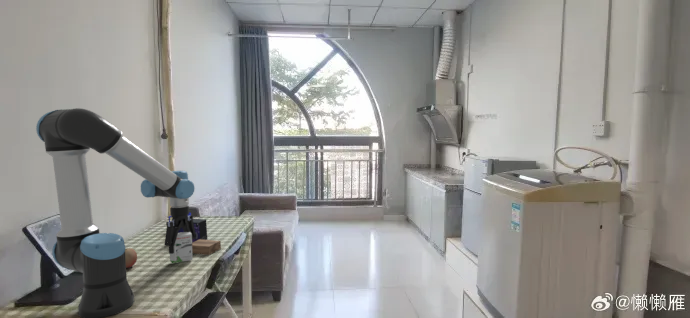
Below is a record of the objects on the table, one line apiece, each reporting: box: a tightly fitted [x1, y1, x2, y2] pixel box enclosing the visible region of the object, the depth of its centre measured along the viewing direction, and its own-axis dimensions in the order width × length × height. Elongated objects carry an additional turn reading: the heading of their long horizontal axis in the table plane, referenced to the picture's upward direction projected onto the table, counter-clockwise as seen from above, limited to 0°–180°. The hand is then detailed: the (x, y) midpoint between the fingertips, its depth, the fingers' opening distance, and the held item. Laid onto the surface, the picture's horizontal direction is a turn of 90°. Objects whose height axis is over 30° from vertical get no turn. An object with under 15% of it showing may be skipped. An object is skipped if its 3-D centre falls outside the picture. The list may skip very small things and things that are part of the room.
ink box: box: [169, 232, 194, 264], centre depth 156 cm, size 9×5×12 cm, turn 123°
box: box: [175, 218, 208, 242], centre depth 186 cm, size 17×7×12 cm, turn 76°
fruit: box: [125, 247, 138, 269], centre depth 151 cm, size 8×8×8 cm
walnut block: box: [192, 239, 222, 256], centre depth 171 cm, size 9×12×4 cm
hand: (181, 256), depth 156 cm, fingers closed on ink box, 9 cm apart
